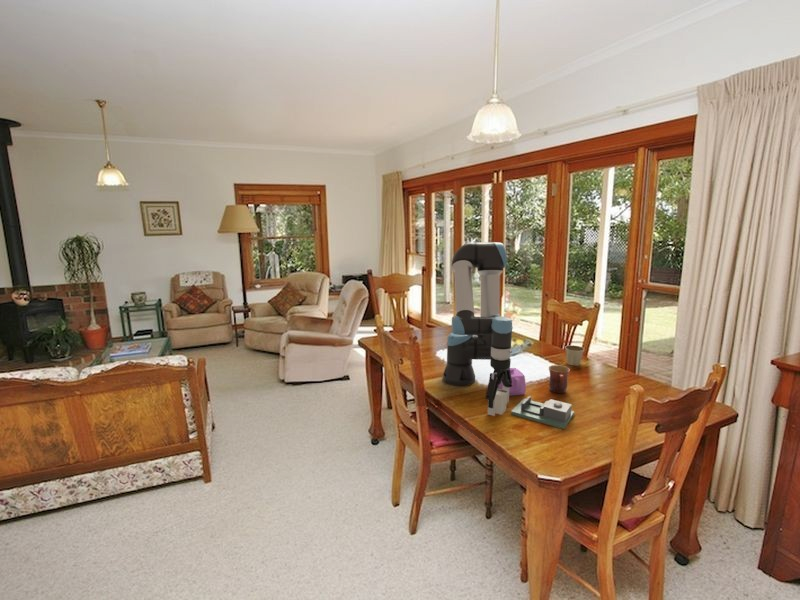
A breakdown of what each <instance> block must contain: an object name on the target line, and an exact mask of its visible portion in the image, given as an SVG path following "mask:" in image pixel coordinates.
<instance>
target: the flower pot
mask: <svg viewBox="0 0 800 600" xmlns="http://www.w3.org/2000/svg"><path fill="white" fill-rule="evenodd" d="M564 349H565V353H566V363H567V365H570V366H575V367H578V366H580V365H581V362H582V361H581V360H582V357H583V353H584V351H585V348H584V347H582V346H580V345H579V346H578V345H572V344H571V345H570V344H569V345H565V346H564Z"/></svg>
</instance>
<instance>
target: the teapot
mask: <svg viewBox="0 0 800 600" xmlns="http://www.w3.org/2000/svg"><path fill="white" fill-rule="evenodd" d="M510 373H511V379H512V387H509V397H511V396H523V395H525V394H526V391H527V387H526V378H525V377H526V376H525V373H523V372H521V370H520V369H518V368H516V367H510ZM502 386H504V385H503V383H502V381H501V384H499V386H498V389H501V390H502Z"/></svg>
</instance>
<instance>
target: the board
mask: <svg viewBox="0 0 800 600" xmlns="http://www.w3.org/2000/svg"><path fill="white" fill-rule="evenodd" d="M572 406H573V405H572V403H568V402H563V401H559V400H555V399H551V398H550V399H549V400H546V401H545V402H544V403H542V402H539V401H535V400H532V396H531V395H528V396H527V397H526V398H523V399H522V400H521V401H519V403H518V404H517V405H515V407H513V408H512V410H511V411H510V415H513V416H516V417H520V418H523V419H527V420H530V421H535V422H538V423H541V424H545V425H548V426H552V427H555V428H558V429H561V428H562V429H561V430H565V428H566V427H567V426H568V424H569V422H570V421H571V420H572V418H573V417H574V416H575V411H574V410H572Z"/></svg>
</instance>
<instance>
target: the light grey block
mask: <svg viewBox="0 0 800 600" xmlns="http://www.w3.org/2000/svg"><path fill="white" fill-rule="evenodd" d="M495 399H496V401H495V415H500V416H502V415H503V414H504V413H506V411H507V404H508V403H507V391H505V390H501V389H497V393H496V396H495Z"/></svg>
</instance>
